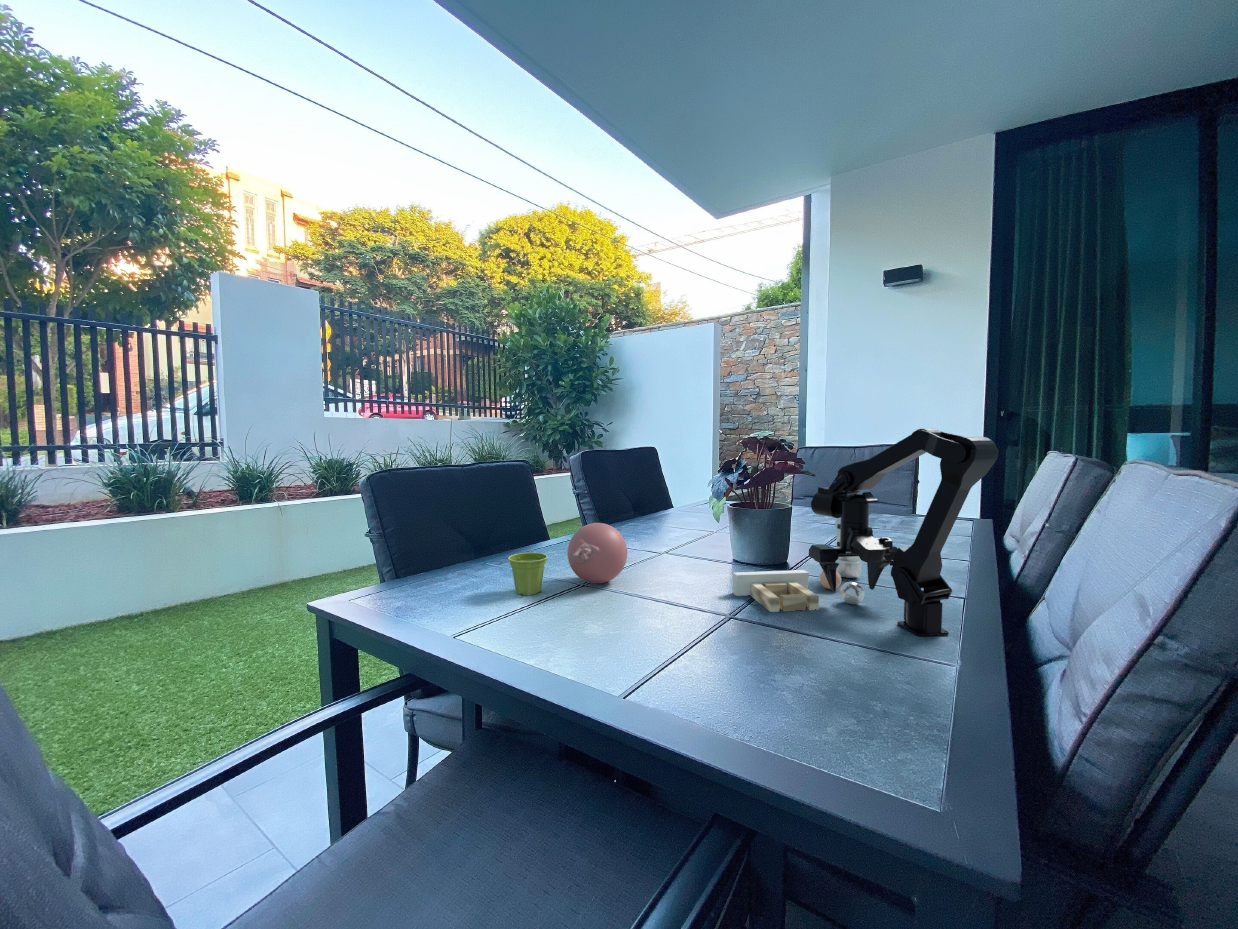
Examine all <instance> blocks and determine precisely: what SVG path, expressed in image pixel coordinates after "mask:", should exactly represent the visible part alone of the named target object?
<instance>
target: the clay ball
mask: <svg viewBox="0 0 1238 929" xmlns="http://www.w3.org/2000/svg"><path fill="white" fill-rule="evenodd" d="M819 583H820V584H821V585H822V587H823V588H825V589H828V590H831V588H830V585H829V583H828V581H827V578H826V576H825V573H824V571H823V570H822V571H821V573H820V574H819ZM841 584H842V577H841V576H840V574H839V573H838V572H837V571H836V589H838V588H839V586H840V585H841Z"/></svg>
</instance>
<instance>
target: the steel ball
mask: <svg viewBox="0 0 1238 929" xmlns="http://www.w3.org/2000/svg"><path fill="white" fill-rule="evenodd" d="M839 595H840V597H841V599H842V600H843V601H844V602H845V603H846V604H850V605H858V604H860V603H861V602H862V601H863V600H864V599H865V590H864V588H863V587H862V585H861V584H859V583H858V582H856V581H847V582H845V583H843V584H842V585H841V587H840V589H839Z"/></svg>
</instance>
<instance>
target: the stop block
mask: <svg viewBox="0 0 1238 929" xmlns="http://www.w3.org/2000/svg"><path fill="white" fill-rule="evenodd" d="M809 574H810V572H809V571H807V570H805V569H795V570H771V571H770V570H768V571H763V570H762V571H742V572H741V571H739V572H737V571H736V572H732V594H733V595H734V596H736V597H744V596H745V597H748V595H750V596H751V583H760V584H761V585H762V586H763V583H775V582H784V583H785V584H787V582H796V583H798V584H800V585H801V586H803V587H804V588H806V589H808V590H809V577H810V575H809Z"/></svg>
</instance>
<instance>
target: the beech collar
mask: <svg viewBox="0 0 1238 929" xmlns="http://www.w3.org/2000/svg"><path fill="white" fill-rule="evenodd" d="M750 597H751V598H753V599H754V600H755V601H757V603H758V604H760V605H761V606H763V607H764V609H766V610H767V611H768V612H770V613H775V612H776V613H778V612H780V610H781V611H782V610H783V612H796V611H795V610H803V611H806V609H807V608H808V609H807V610H809V611H819V606H820V604H819V603H820V602H819V601H820V596H819V595H817V594H816V593H814V592H813V591H811V590H809V588H808V589H806V588H804V587H803V586H801V585H800V584H798V583H796V582H787V584H785V583H784V582H775V583H763V586H762V585H761V584H760V583H751V595H750ZM806 607H807V608H806ZM815 609H816V610H815Z"/></svg>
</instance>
